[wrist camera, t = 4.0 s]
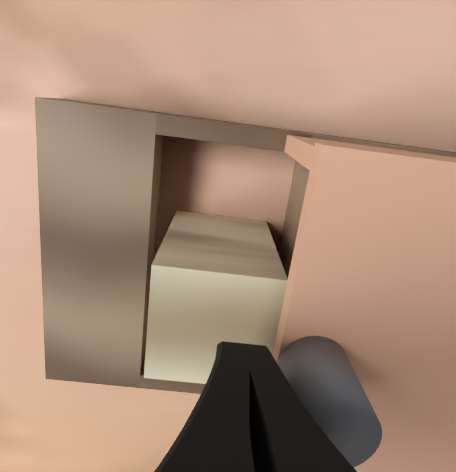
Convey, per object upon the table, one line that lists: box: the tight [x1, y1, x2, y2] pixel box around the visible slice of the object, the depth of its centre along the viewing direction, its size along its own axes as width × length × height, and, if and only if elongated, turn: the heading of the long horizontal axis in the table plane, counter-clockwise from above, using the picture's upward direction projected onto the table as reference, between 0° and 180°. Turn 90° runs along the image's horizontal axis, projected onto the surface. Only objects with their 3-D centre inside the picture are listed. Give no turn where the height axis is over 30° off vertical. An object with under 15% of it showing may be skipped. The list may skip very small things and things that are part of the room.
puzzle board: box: [35, 97, 456, 394], centre depth 16 cm, size 12×22×2 cm, turn 83°
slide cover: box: [272, 135, 456, 472], centre depth 12 cm, size 12×7×7 cm, turn 173°
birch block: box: [144, 210, 288, 384], centre depth 14 cm, size 4×4×6 cm
